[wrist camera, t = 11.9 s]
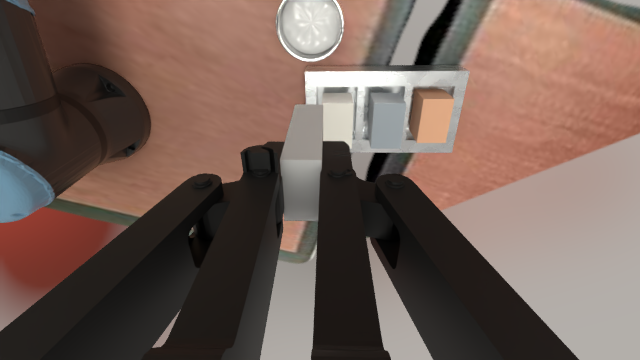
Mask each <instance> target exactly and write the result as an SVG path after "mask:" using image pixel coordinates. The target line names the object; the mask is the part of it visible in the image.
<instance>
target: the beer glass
mask: <svg viewBox="0 0 640 360" xmlns="http://www.w3.org/2000/svg"><path fill="white" fill-rule="evenodd" d="M344 28H345V16H344V11H343V8H342V5H341V3H340V1H339V0H282V2H281V4H280V6H279V8H278V11H277V15H276V32H277V36H278V39H279V41H280V43H281V45H282V46H283V48H284V49H285V50H286V51H287V52H288V53H289V54H290V55H291V56H293V57H294V58H296V59H298V60H301V61H305V62H316V61H320V60H323V59H325V58H327V57H328V56H330V55H331V54H332V53H333V52H334V51H335V50H336V49H337V47H338V46H339V44H340V42H341V39H342V36H343V33H344Z"/></svg>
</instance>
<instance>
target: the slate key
mask: <svg viewBox="0 0 640 360" xmlns="http://www.w3.org/2000/svg"><path fill="white" fill-rule="evenodd" d="M405 111H406V102H405V101H404V99H403V98H402V96H401V95H400V93H370V101H369V116H368V130H367V136H368V139H369V143H370V147H371V149H401V142H402V134H403V126H404V118H405Z"/></svg>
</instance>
